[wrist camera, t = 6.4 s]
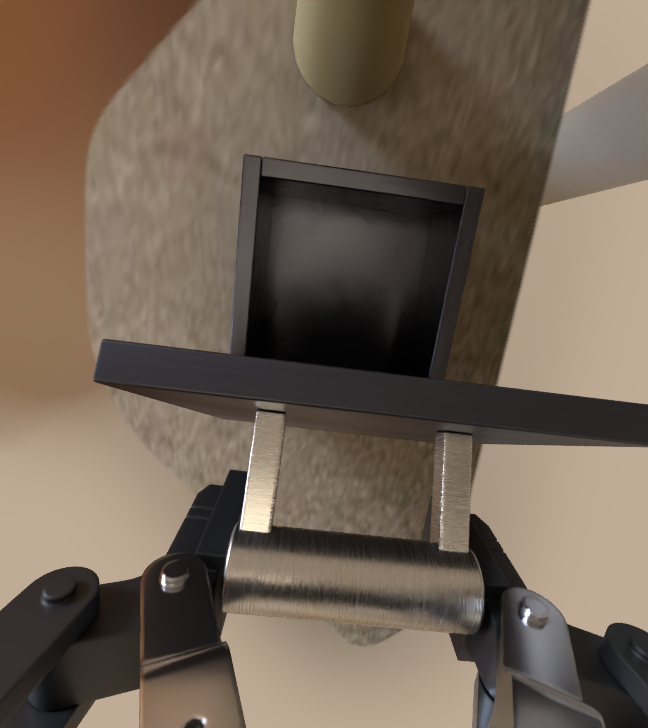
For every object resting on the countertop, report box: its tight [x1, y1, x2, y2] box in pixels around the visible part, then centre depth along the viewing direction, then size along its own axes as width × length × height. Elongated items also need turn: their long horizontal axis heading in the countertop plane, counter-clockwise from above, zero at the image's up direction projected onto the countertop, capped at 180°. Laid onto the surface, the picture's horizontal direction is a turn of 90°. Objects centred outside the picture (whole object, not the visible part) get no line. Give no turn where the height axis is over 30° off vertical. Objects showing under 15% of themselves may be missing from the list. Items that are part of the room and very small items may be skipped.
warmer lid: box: [93, 339, 648, 635], centre depth 13 cm, size 12×11×5 cm
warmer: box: [230, 154, 485, 380], centre depth 21 cm, size 12×11×6 cm
